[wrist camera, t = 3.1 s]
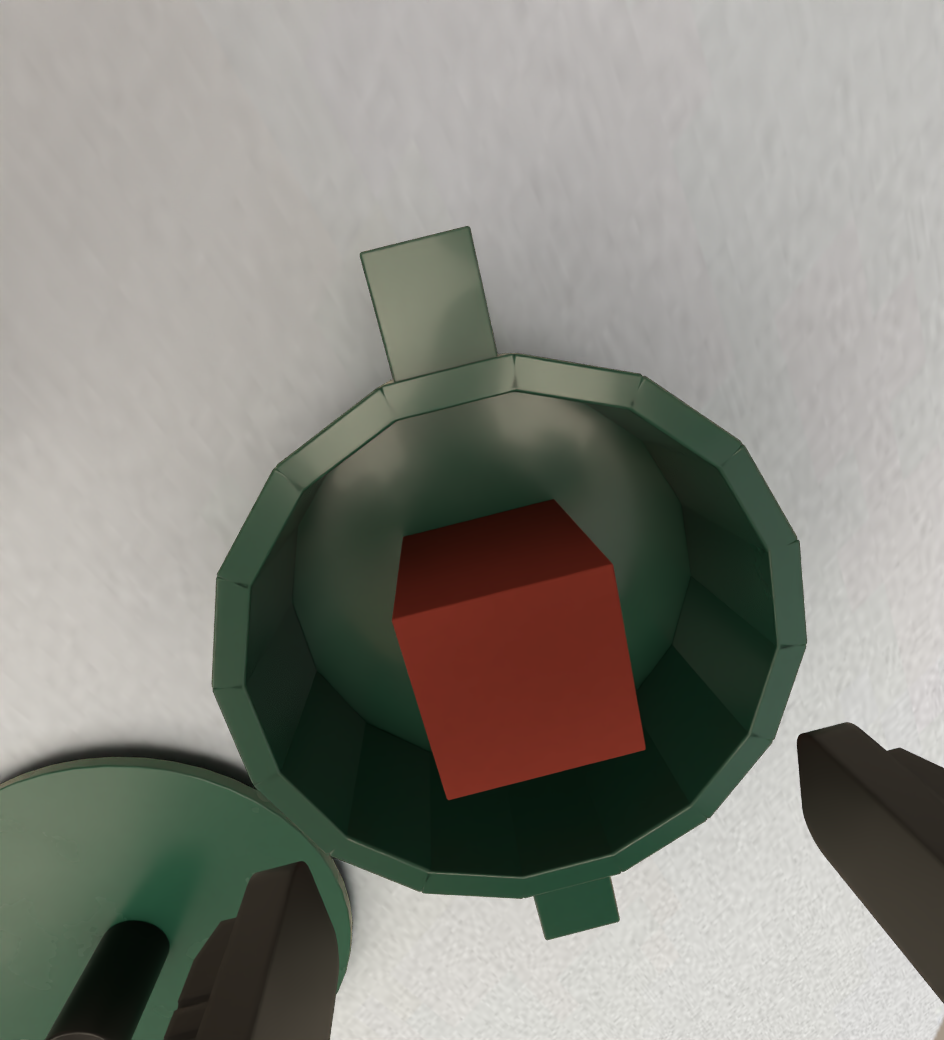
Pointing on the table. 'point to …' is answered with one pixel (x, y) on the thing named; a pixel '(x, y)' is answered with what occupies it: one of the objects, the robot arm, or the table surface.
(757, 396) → the table surface
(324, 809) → the pot
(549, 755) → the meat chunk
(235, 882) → the pot lid
